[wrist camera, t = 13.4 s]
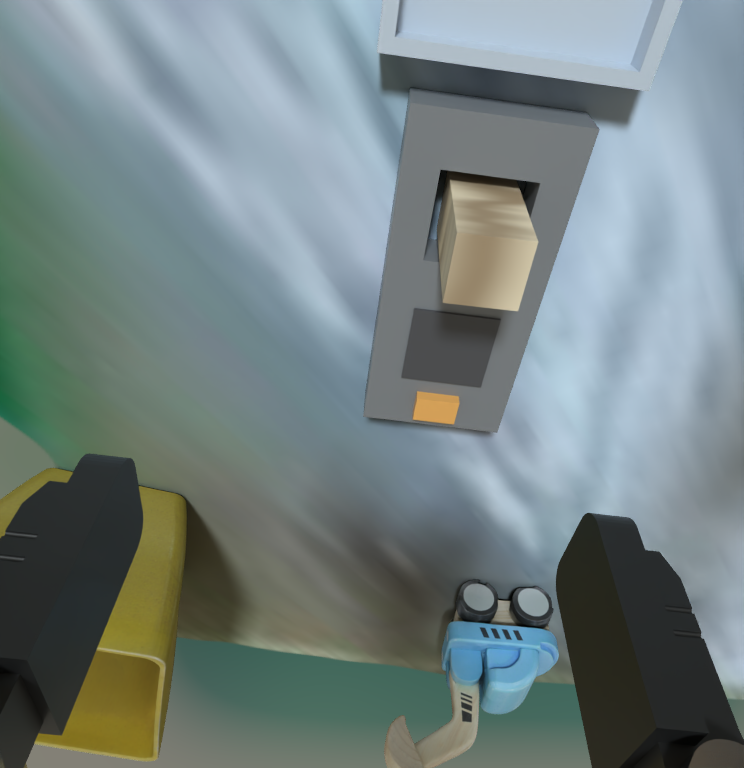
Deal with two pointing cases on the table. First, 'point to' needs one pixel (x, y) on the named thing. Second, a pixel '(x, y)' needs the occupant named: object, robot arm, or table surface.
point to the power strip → (422, 267)
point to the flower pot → (128, 636)
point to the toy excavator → (481, 669)
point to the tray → (536, 36)
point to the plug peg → (484, 241)
